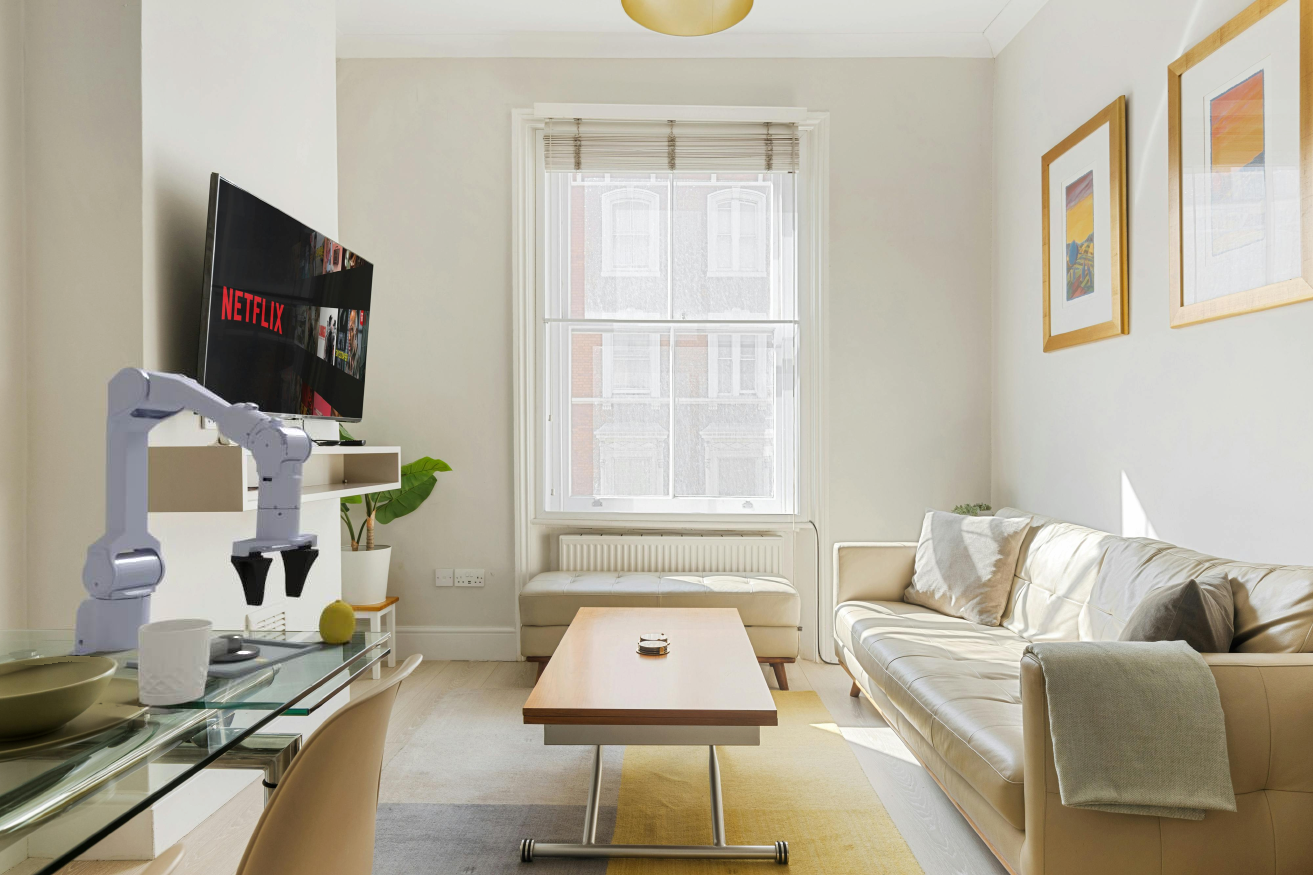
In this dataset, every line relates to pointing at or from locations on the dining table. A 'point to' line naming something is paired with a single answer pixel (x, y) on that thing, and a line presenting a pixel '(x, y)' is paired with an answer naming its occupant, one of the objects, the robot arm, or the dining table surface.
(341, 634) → the lemon
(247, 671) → the dial plate
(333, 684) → the dining table surface
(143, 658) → the white cup
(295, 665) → the dining table surface
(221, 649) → the dial
